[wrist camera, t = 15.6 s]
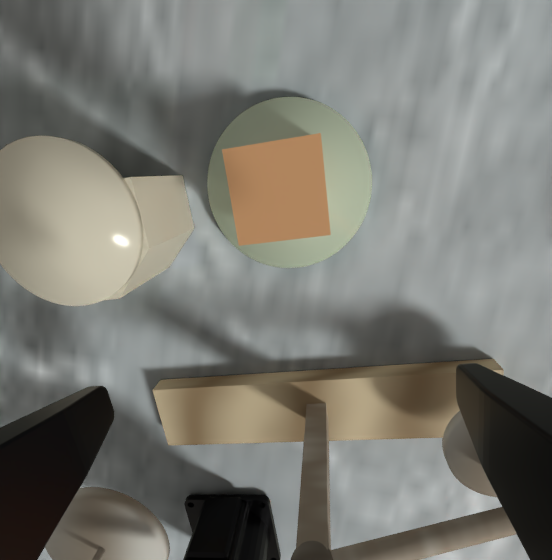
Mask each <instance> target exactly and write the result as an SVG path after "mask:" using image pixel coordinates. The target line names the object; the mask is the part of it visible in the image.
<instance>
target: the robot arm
mask: <svg viewBox="0 0 552 560" xmlns="http://www.w3.org/2000/svg"><path fill="white" fill-rule="evenodd" d="M456 399H457V404H458V407H459V409H460V412H461V415H462V417H463V420H464V422H465V425H466V427H467V430H468V432H469V435H470V438H471V440H472V443H473V445H474V448H475V450H476V453H477V455H478V458H479V460H480V463H481V465H482V468H483V470H484V472H485V474H486V476H487V478H488V480H489V482H490V484H491V486H492V488H493V490H494V491H495V493H496V495H497V497H498V499H499V501H500V503H501V505H502V507H503V509H504V511H505V512H506V514H507V516H508V518H509V520H510V522H511V524H512V526H513V528H514V530H515V532H516V533H517V535H518V537H519V539H520V541H521V543H522V545H523V547H524V549H525V551H526V553H527V554H528V556H529V558H530V560H552V398H551V397H549V396H547V395H545V394H542V393H540V392H538V391H536V390H534V389H532V388H529V387H527V386H525V385H523V384H521V383H519V382H516V381H514V380H512V379H510V378H508V377H506V376H503V375H501V374H499V373H497V372H495V371H493V370H490V369H488V368H486V367H484V366H482V365H480V364H477V363H466V364H459V365H457V367H456ZM113 420H114V409H113V406H112V403H111V400H110V397H109V394H108V391H107V389H106V388H105V387H103V386H91V387H87V388H85V389H83V390H81V391H78V392H76V393H74V394H72V395H70V396H68V397H65V398H63V399H61V400H59V401H57V402H55V403H52V404H50V405H48V406H46V407H44V408H42V409H40V410H37V411H35V412H33V413H31V414H29V415H27V416H24V417H22V418H20V419H18V420H16V421H14V422H11V423H9V424H7V425H5V426H3V427H1V428H0V560H37V559H38V558H39V556H40V554H41V552H42V551H43V549H44V547H45V546H46V544H47V542H48V541H49V539H50V537H51V535H52V534H53V532H54V530H55V529H56V527H57V525H58V524H59V522H60V520H61V518H62V517H63V515H64V513H65V512H66V510H67V508H68V507H69V505H70V503H71V502H72V500H73V498H74V496H75V495H76V493H77V491H78V490H79V488H80V486H81V485H82V483H83V481H84V479H85V477H86V476H87V474H88V472H89V470H90V468H91V466H92V464H93V462H94V460H95V458H96V456H97V453H98V451H99V449H100V447H101V445H102V443H103V441H104V439H105V437H106V435H107V433H108V431H109V428H110V426H111V424H112V422H113ZM185 508H186V511H187V515H188V518H189V521H190V525H191V528H192V532H193V534H192V537H191V539H190V542H189V545H188V548H187V550H186V554H185V556H184V559H183V560H280V557H281V554H280V549H279V544H278V539H277V534H276V529H275V524H274V519H273V514H272V509H271V505H270V500H269V498H268V497H267V496H265V495H189V496H188V497H187V498H186V501H185Z"/></svg>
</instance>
